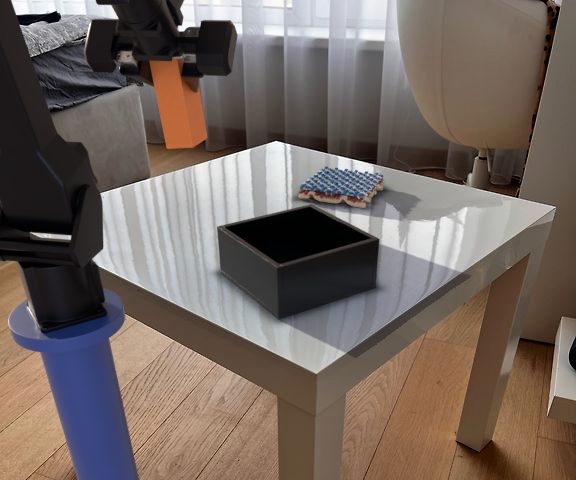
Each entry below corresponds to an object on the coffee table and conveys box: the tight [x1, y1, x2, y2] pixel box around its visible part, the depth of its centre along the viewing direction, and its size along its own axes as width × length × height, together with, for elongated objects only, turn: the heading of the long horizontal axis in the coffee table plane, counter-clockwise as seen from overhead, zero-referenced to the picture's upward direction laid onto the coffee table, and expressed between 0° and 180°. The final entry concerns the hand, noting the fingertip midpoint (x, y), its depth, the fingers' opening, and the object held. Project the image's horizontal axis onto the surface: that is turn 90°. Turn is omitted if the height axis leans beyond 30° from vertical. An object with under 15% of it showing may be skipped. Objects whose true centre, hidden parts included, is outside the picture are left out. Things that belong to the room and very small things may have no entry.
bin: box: [216, 203, 380, 320], centre depth 65 cm, size 12×12×6 cm
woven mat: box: [297, 166, 386, 209], centre depth 89 cm, size 10×11×2 cm
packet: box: [149, 58, 208, 150], centre depth 84 cm, size 6×4×13 cm
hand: (181, 89), depth 85 cm, fingers closed on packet, 4 cm apart
